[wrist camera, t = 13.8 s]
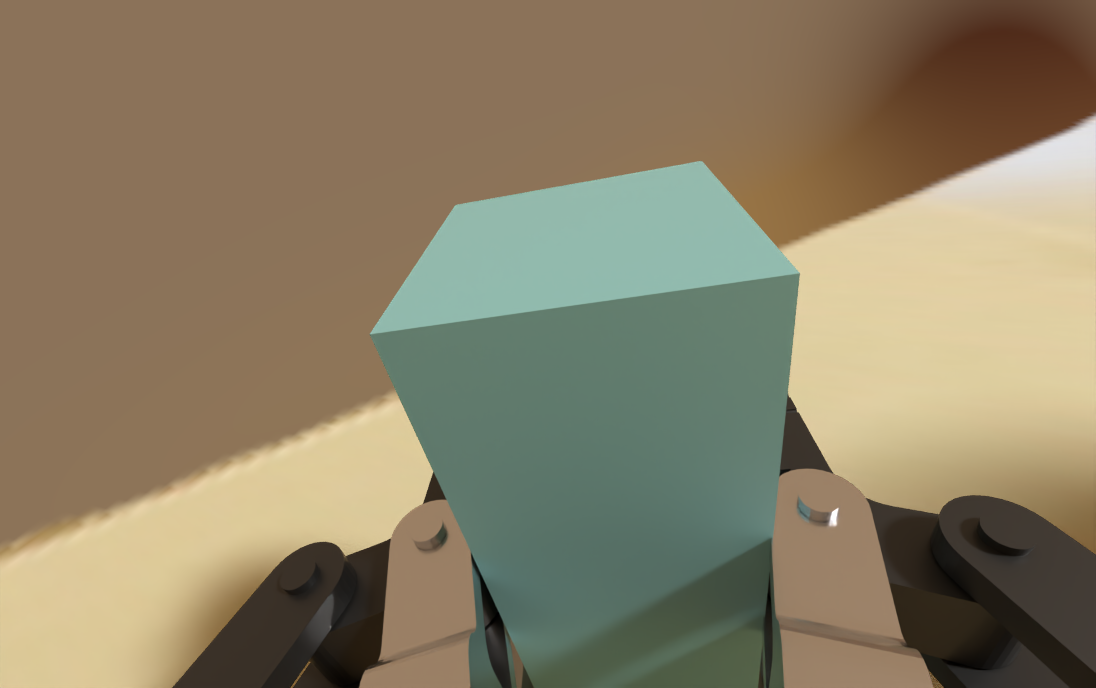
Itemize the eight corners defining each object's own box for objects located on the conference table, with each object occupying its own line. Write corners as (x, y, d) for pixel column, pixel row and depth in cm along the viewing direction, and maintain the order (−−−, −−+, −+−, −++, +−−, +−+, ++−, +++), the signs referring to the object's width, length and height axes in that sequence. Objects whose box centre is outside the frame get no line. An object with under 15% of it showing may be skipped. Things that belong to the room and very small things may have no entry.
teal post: (709, 588, 14) (701, 161, 7) (749, 765, 11) (799, 273, 4) (571, 595, 15) (455, 205, 8) (570, 765, 11) (370, 334, 5)
